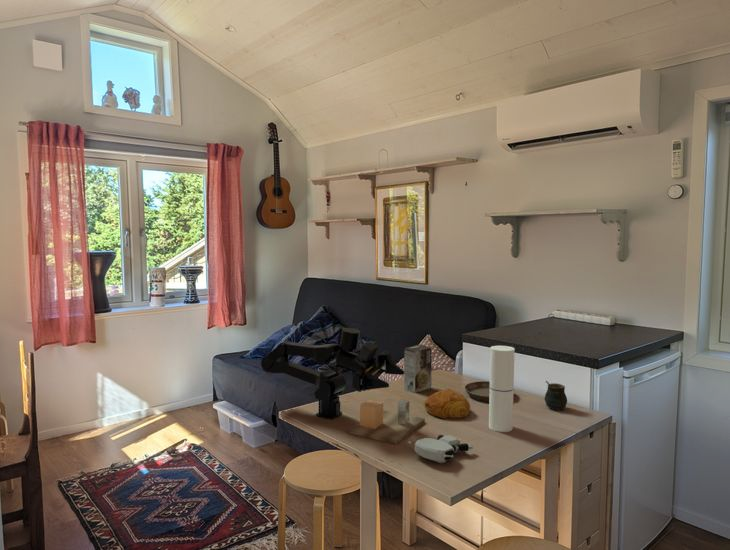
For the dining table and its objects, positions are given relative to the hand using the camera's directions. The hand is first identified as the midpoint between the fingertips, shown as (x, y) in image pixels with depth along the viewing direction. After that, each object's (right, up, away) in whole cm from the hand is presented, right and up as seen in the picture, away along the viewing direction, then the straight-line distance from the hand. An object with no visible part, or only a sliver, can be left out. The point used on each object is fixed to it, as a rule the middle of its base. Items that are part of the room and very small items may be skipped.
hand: (396, 379), depth 161 cm
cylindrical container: (+32, -16, +4) cm, 36 cm away
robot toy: (+11, -18, -16) cm, 27 cm away
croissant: (+18, -15, +18) cm, 29 cm away
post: (+2, -14, +4) cm, 15 cm away
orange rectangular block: (-7, -15, +3) cm, 17 cm away
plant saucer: (+36, -13, +35) cm, 52 cm away
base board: (-2, -16, +3) cm, 16 cm away
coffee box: (+11, -12, +43) cm, 46 cm away
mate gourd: (+56, -14, +21) cm, 61 cm away
